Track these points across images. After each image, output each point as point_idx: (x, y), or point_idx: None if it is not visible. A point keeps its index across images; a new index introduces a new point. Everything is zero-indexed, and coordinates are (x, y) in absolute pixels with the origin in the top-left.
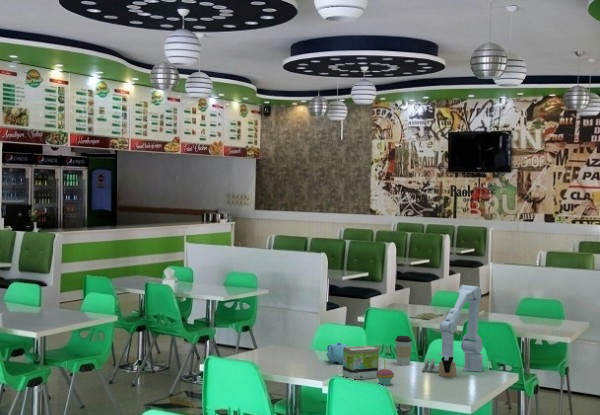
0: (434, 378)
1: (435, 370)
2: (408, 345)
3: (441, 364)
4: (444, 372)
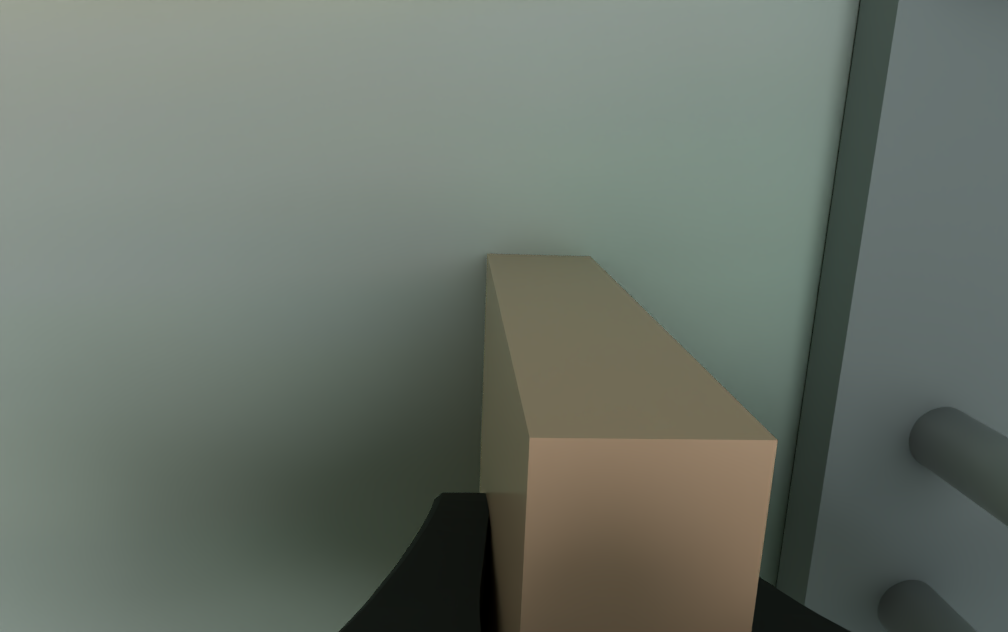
0: (3, 128)
1: (1004, 107)
2: None
3: (514, 504)
4: (487, 466)
